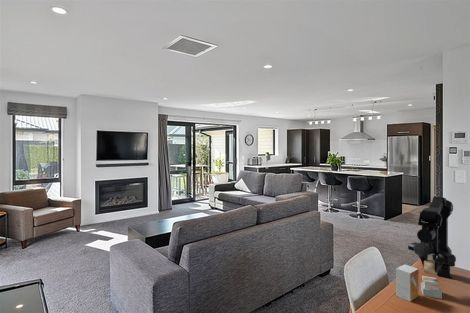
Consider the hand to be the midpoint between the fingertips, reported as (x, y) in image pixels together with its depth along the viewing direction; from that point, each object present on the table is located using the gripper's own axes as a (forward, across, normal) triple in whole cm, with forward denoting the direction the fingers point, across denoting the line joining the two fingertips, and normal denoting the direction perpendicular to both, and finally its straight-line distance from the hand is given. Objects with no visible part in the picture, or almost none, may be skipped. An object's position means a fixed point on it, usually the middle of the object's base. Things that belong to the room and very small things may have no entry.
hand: (430, 270), depth 128 cm
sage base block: (+12, 0, 0) cm, 12 cm away
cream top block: (+8, 0, 0) cm, 8 cm away
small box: (+11, -2, -12) cm, 17 cm away
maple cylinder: (+1, 0, 0) cm, 1 cm away
